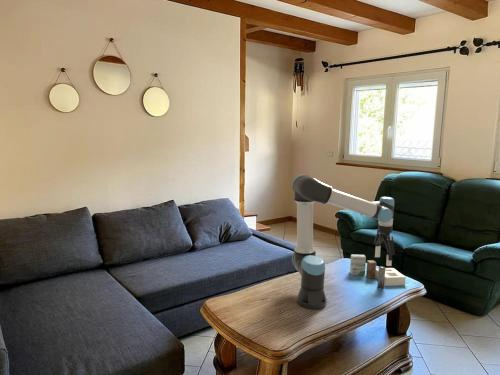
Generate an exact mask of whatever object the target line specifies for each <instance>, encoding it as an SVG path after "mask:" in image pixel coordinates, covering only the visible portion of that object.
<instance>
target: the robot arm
mask: <svg viewBox="0 0 500 375" xmlns="http://www.w3.org/2000/svg"><path fill="white" fill-rule="evenodd" d="M291 188H292V191H293V201H294V202H295V203H296V247H294V249H293V251H294V252H293V254H292V258H291V262H292V265H293V267H294V269H295V270H296V271H297V272H298V273H299V274H300V276H301V277H300V289H299V291H298V294H297V296H296V303H297V304H298V305H299V306H300V307H302V308H305V309H308V310H320V309H324V308H325V307H326V306H327V296H326V293H325V289H324V288H325V273H326V271H325V270H326V263H325V261H324V259H323V258H321V257H320V256H317V255H316V254H317V252H316V251H317V250H316V248H315V247H314V204H315V203H319V204H322V205H327V204H330V205H332V206H335V207H337V208H338V207H339V208H342V209H344V210H346V211H350V212H354V213H355V214H359V215H361V216H365V217H368V218H370V219H374V220H378V222H377V223H378V227H377V231H376V235H375V237H374V240H373V244H374V245H375V250H374V258H380V257H381V247H382V243H384V244H385V249H386V251H387V253H386V263H385V265H386V266H387V267H392V262H393V255H394V256H395V255H396V251H395V245H394V236H393V235H392V236H391V235H390V234H391V233H393V224H394V222H393V221H394V214H395V213H394V210H395V198H393V197H390V196H381V197H380V198H379V200H377V201H374V200H373V201H368V200H366V199H363V198H361V197H357V196H354V195H351V194H349V193H346V192H344V191H340V190H337V189H335V188H333V187H332V186H331V185H329V184H326V183H324V182H321V181H320V180H319V179H317V178H315V177H312V176H311V175H309V174H300V175H297V176H296V177H295V178H294V179H293V181H292V183H291ZM386 266H385V267H386Z"/></svg>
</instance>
